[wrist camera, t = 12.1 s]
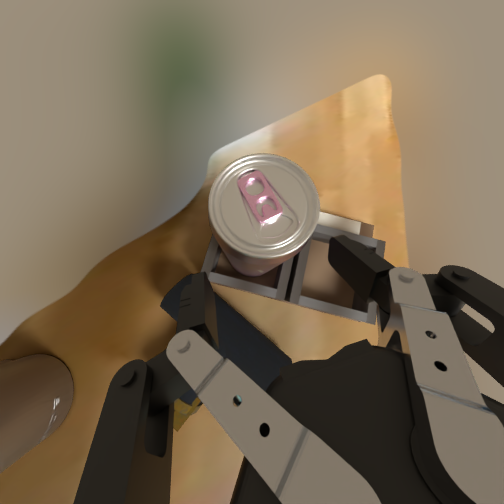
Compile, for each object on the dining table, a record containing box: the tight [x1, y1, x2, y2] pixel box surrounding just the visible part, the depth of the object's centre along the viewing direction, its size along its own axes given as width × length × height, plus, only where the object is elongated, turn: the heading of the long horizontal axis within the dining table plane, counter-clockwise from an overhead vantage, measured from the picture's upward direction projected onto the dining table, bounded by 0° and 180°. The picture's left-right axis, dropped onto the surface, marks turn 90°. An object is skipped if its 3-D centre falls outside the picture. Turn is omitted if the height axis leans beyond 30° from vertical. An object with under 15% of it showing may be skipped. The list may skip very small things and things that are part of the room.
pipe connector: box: [160, 274, 292, 432], centre depth 20 cm, size 12×5×15 cm
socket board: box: [201, 211, 386, 325], centre depth 23 cm, size 20×13×4 cm, turn 75°
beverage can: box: [208, 153, 320, 277], centre depth 16 cm, size 6×6×15 cm
